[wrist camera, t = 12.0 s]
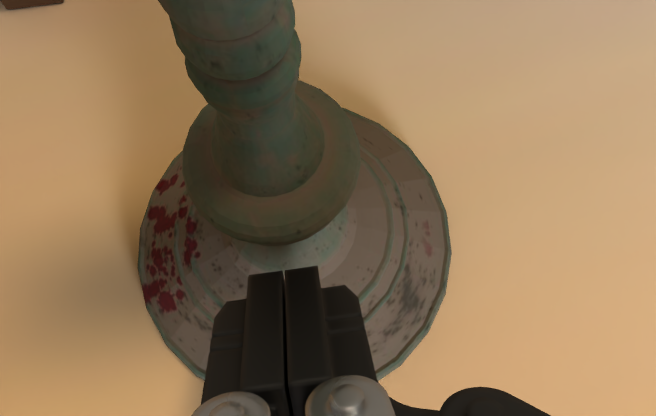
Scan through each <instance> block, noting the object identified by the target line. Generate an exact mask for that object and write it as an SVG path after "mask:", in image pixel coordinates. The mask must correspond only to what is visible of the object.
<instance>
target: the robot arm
mask: <svg viewBox="0 0 656 416" xmlns="http://www.w3.org/2000/svg"><path fill="white" fill-rule="evenodd" d="M191 416H550V415H548V414H547V413H545V412H543V411H541V410H539V409H537V408H535V407H533V406H531V405H530V404H528V403H526V402H524V401H522V400H520V399H518V398H516V397H514V396H512V395H511V394H508V393H506V392H504V391H501V390H498V389H494V388H488V387H473V388H468V389H464V390H461V391H458V392H456V393H454V394H453V395H451V396H450V397H449V398H448V399H447V400H446V401H445V402H444V404H443V405H442V407H441V410H440V411H438V410H429V409H420V408H414V407H410V406H406V405H403V404H401V403H399V402H397V401H395V400H393V399H392V398H390V397H389V396H388V394H387V392H386V390H385V389H384V388H383V387H382V386H381V385H380V384H379V383H378V380H377V377H376V373H375V368H374V364H373V360H372V355H371V351H370V347H369V342H368V338H367V334H366V330H365V325H364V321H363V316H362V312H361V308H360V303H359V299H358V297H357V296H356V295H355V294H354V293H353V292H352V291H351V290H350V289H349V288H348V287H347V286H346V285H340V286H333V287H326V288H321V285H320V278H319V271H318V265H317V266H310V267H303V268H296V269H289V270H285V280H284V275H283V271H282V270H281V271H274V272H267V273H260V274H253V275H249V276H248V286H247V299H241V300H234V301H227V302H226V303H225V304H224V306H223V307H222V308H221V310H220V311H219V312H218V314H217V315H216V316H215V318H214V324H213V331H212V338H211V343H210V352H209V356H208V362H207V369H206V375H205V382H204V388H203V394H202V401H201V406H199V407H198V408H197V409H196V410H195V411H194V413H193V414H192V415H191Z"/></svg>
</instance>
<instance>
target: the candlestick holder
mask: <svg viewBox="0 0 656 416" xmlns="http://www.w3.org/2000/svg"><path fill="white" fill-rule="evenodd" d="M158 1H159V2H160V4H161V5H162V7H163V8H164V10H165V11H166V12H167V14H168V15H169V17H170V21H171V25H172V28H173V32H174V36H175V39H176V43H177V45H178V47H179V48H180V50H181V51H182V53H183V54H184V56H185V65H186V69H187V73H188V76H189V78H190V79H191V81H192V82H193V84H194V85H195V87H196V88H197V89H198V91H199V92H200V93H201V94H202V95H203V97H204V98H205V100H206V101H207V102H208V103H209V104H207V105H206V106H205V107H204V108H203V109H202V110H201V112H200V113H199V115H198V116H197V118H196V119H195V121H194V122H193V124H192V125H191V127H190V129H189V132H188V136H187V139H186V142H185V145H184V148H183V151H182V152H181V153H180V154H179V155H178V156H177V157H176V158H175V159H174V160H173V161H172V163H171V164H170V166H169V167H168V169H167V170H166V172H165V173H164V175H163V176H162V178H161V180H160V181H159V183H158V184H157V186H156V187H155V189H154V190H153V192H152V195H151V198H150V201H149V204H148V207H147V210H146V213H145V216H144V219H143V222H142V225H141V228H140V241H139V257H138V271H139V276H140V281H141V285H142V290H143V294H144V299H145V304H146V308H147V310H148V312H149V314H150V316H151V317H152V319H153V321H154V323H155V325H156V327H157V329H158V330H159V332H160V334H161V336H162V338H163V340H164V342H165V343H166V345H167V346H168V347H169V348H170V349H171V350H172V351H173V352H174V353H175V354H176V356H177V357H178V358H179V359H180V360H181V361H182V362H183V363H184V364H185V365H186V366H187V367H188V368H189V369H190V370H191V371H192V372H193V373H194V374H195V375H196V376H197V377H199V378H201V379H203V380H205V375H206V369H207V362H208V356H209V352H210V343H211V338H212V331H213V324H214V318H215V316H216V315H217V314H218V312H219V311H220V310H221V308H222V307H223V306H224V304H225V303H226V302H227V301H234V300H241V299H247V286H248V276H249V275H253V274H260V273H267V272H274V271H281V270H282V271H283V275H284V280H285V270H289V269H296V268H303V267H310V266H317V265H318V271H319V278H320V285H321V288H326V287H333V286H340V285H346V286H347V287H348V288H349V289H350V290H351V291H352V292H353V293H354V294H355V295H356V296H357V297H358V299H359V303H360V308H361V312H362V316H363V321H364V325H365V330H366V334H367V338H368V342H369V347H370V351H371V355H372V360H373V364H374V368H375V373H376V377H377V380H378V381H379V380H380V379H382V378H383V377H384V376H386V375H387V374H389V373H390V372H392V371H393V370H395V369H396V368H398V367H399V366H401V364H402V363H403V362H404V361H405V360H406V358H407V357H408V356H409V355H410V354H411V352H412V351H413V350H414V349H415V348H416V346H417V345H418V344H419V343H420V342H421V340H422V339H423V338H424V337H425V336H426V334H427V333H428V332H429V330H430V327H431V325H432V323H433V321H434V318H435V316H436V314H437V312H438V310H439V307H440V305H441V303H442V301H443V298H444V296H445V293H446V287H447V280H448V274H449V267H450V260H451V254H452V253H451V245H450V237H449V229H448V221H447V213H446V210H445V208H444V205H443V203H442V200H441V198H440V196H439V193H438V191H437V188H436V186H435V184H434V181H433V179H432V176H431V175H430V174H429V173H428V171H427V170H426V169H425V167H424V166H423V165H422V164H421V162H420V161H419V160H418V158H417V157H416V156H415V154H414V153H413V152H412V151H411V149H410V148H409V147H408V146H407V145H406V144H405V143H403V142H402V141H401V140H399V139H398V138H397V137H396V136H394V135H393V134H392V133H390V132H389V131H388V130H387V129H385V128H384V127H383V126H381V125H380V124H379V123H376V122H374V121H372V120H370V119H367V118H365V117H363V116H361V115H358V114H356V113H354V112H352V111H349V110H347V109H345V108H341V107H340V105H339V104H338V103H337V102H336V101H335V100H333V99H332V98H331V97H330V96H328V95H327V94H326V93H324V92H323V91H322V90H321V89H318V88H316V87H314V86H312V85H309V84H307V83H305V82H302V81H299V80H298V77H299V66H300V61H301V43H300V41H299V38H298V35H297V32H296V31H295V29H294V27H295V11H294V7H293V3H292V0H158Z"/></svg>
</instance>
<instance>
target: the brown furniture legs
mask: <svg viewBox="0 0 656 416" xmlns="http://www.w3.org/2000/svg"><path fill="white" fill-rule="evenodd" d="M0 1H1V2H2V4H3V5H4V6H5V7H6V8H7V9H15V8H23V7H31V6H38V5H46V4H54V3H61V2H63V1H64V0H0Z"/></svg>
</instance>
